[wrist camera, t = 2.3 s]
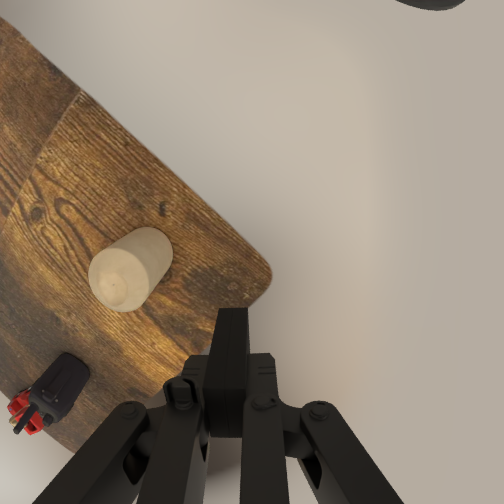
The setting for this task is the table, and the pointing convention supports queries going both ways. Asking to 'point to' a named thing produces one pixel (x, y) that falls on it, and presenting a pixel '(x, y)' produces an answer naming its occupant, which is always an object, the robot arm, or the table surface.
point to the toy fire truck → (19, 408)
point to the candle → (130, 269)
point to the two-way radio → (55, 391)
